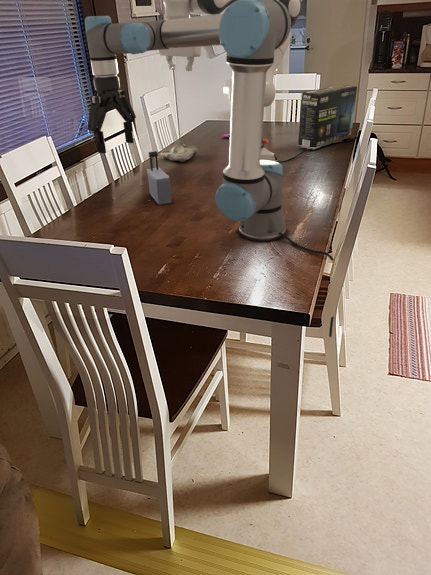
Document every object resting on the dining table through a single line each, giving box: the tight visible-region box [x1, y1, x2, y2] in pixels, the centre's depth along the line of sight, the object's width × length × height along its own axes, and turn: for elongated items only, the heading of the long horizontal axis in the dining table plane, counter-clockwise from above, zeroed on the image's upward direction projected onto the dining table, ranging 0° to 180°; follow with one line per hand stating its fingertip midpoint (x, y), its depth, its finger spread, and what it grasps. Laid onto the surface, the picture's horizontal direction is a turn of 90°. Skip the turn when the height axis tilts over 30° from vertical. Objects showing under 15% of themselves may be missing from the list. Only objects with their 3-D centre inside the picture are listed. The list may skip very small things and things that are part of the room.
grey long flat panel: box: [146, 150, 171, 183], centre depth 174 cm, size 14×5×8 cm, turn 21°
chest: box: [146, 172, 173, 206], centre depth 179 cm, size 14×5×9 cm, turn 21°
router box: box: [297, 84, 358, 151], centre depth 238 cm, size 36×11×27 cm, turn 134°
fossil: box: [160, 142, 199, 163], centre depth 229 cm, size 18×11×15 cm
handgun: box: [222, 134, 230, 139], centre depth 255 cm, size 21×8×2 cm, turn 11°
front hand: (116, 147), depth 148 cm, fingers open, 13 cm apart
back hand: (180, 70), depth 166 cm, fingers open, 8 cm apart
